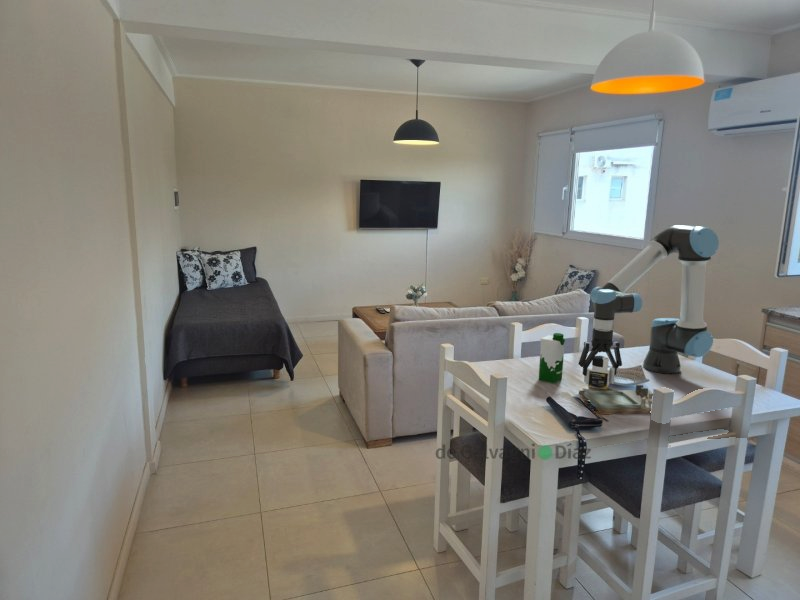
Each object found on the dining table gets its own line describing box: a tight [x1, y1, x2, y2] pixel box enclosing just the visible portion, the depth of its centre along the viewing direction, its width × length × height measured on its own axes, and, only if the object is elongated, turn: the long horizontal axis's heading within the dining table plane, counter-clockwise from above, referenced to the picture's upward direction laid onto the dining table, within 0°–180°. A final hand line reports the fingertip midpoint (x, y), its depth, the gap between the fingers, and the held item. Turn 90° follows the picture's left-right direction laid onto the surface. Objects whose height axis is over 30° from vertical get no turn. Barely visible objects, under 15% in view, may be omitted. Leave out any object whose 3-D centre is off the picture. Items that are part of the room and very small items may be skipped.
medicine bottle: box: [587, 355, 610, 390], centre depth 216 cm, size 7×7×12 cm
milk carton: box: [538, 332, 567, 384], centre depth 224 cm, size 9×9×20 cm
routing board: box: [578, 384, 654, 415], centre depth 202 cm, size 28×20×4 cm
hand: (598, 382), depth 217 cm, fingers closed on medicine bottle, 9 cm apart
